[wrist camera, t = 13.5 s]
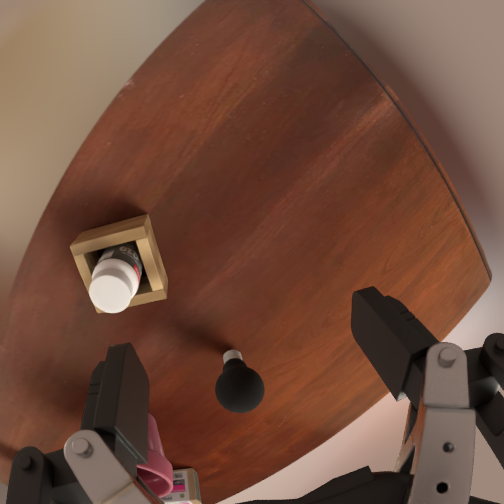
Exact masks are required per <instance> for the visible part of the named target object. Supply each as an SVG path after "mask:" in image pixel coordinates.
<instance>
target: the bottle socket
mask: <svg viewBox="0 0 504 504" xmlns="http://www.w3.org/2000/svg"><path fill="white" fill-rule="evenodd" d="M133 240H136V243H137V246H138V249H139V253H140V256H141V259H142V262H143V265H144V268H145V271H146V274H147V276H144V277H141V278H140V282H139V286H138V289H137V292H136V294H135V295H134V296H133V298H131V300H130V303H129V305H128V306H127V307H130V306H135V305H139V304H144V303H148V302H153V301H157V300H162V299H166V298H167V287H168V279H167V276H166V272H165V269H164V266H163V263H162V260H161V256H160V253H159V250H158V246H157V243H156V240H155V236H154V233H153V229H152V226H151V222H150V219H149V215H148V214H146V215H142V216H138V217H134V218H130V219H127V220H123V221H119V222H116V223H112V224H108V225H105V226H101V227H98V228H94V229H91V230H87V231H84V232H81V233H80V234H79V235H78V237H77V238H76V239H75V240H74V241H73V243H72V244H71V245H70V248H71V251H72V253H73V256H74V259H75V262H76V264H77V267H78V269H79V272H80V274H81V276H82V279H83V281H84V284H85V286H86V288H87V291H88V293H89V287H90V284H91V282H92V274H93V271H94V269H95V267H96V265H97V263H98V262H99V260H100V258H99V255H98V252H97V250H99V249H103V248H106V247H110V246H114V245H118V244H122V243H125V242H129V241H133ZM93 304H94V303H93ZM94 306H95V305H94ZM95 308H96V310H97V312H98V313H102V312H105V311H102V310H100V309H99V308H98V307H96V306H95Z"/></svg>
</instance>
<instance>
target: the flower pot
mask: <svg viewBox="0 0 504 504" xmlns="http://www.w3.org/2000/svg"><path fill="white" fill-rule="evenodd" d="M137 474H138V475H139V476H140V478H141V479H142V480H143V481H144V482H145V483H146V484H147V485H148V486H149V487H150V489H151V490H152V491H153V492H154V493H155V494H156V495H157V496H158V497H159V498H160V497H163V496H166V495H168V494H169V493H170V492H171V491H172V489H173V468H172V465H171V463H170V462H169V461H168V460H167V459H166V458H165V455H164V452H163V448H162V444H161V440H160V437H159V433H158V429H157V425H156V421H155V419H154V417H153V416H152V415H151V414H150V413H149V412H148V464H137Z"/></svg>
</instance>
